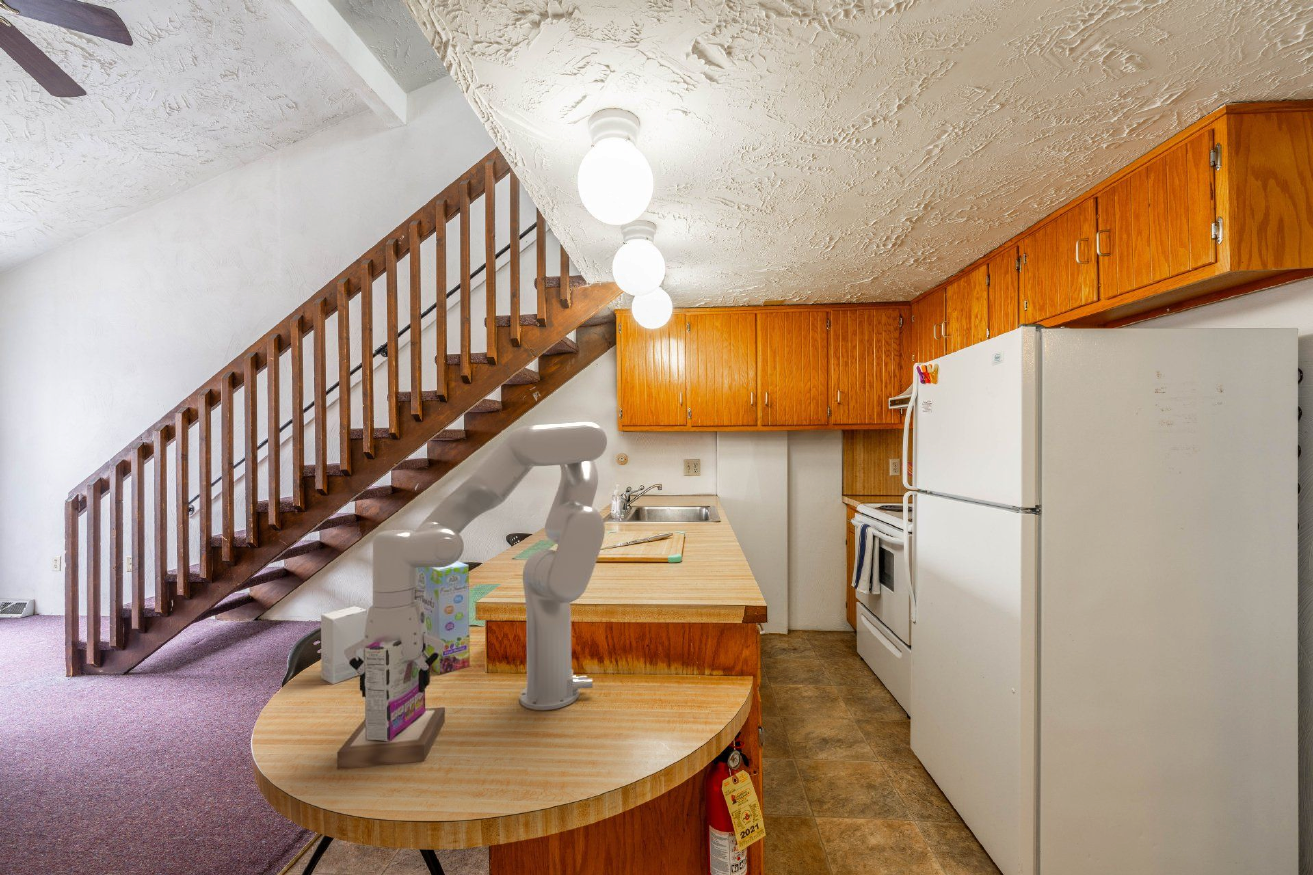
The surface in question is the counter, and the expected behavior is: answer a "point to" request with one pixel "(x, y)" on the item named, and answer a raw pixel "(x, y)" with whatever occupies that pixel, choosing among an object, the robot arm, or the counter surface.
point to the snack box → (447, 613)
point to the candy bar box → (390, 691)
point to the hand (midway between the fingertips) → (395, 691)
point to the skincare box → (340, 642)
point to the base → (393, 743)
